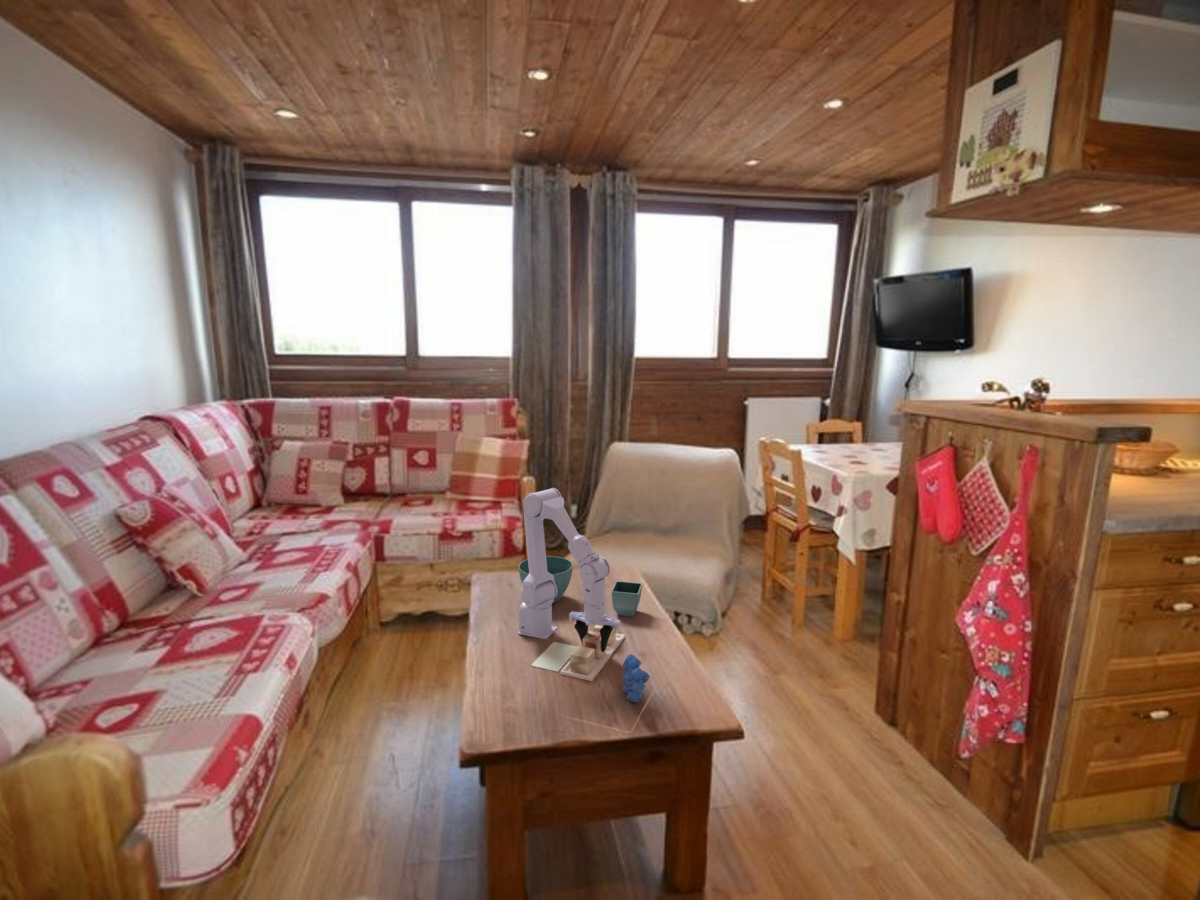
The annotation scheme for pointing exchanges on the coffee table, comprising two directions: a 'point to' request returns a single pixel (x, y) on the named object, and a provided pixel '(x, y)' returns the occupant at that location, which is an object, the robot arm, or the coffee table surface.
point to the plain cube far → (611, 637)
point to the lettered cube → (593, 643)
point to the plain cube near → (582, 660)
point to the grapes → (634, 678)
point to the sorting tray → (598, 662)
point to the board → (554, 657)
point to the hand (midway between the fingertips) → (594, 648)
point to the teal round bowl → (553, 573)
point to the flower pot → (626, 597)
